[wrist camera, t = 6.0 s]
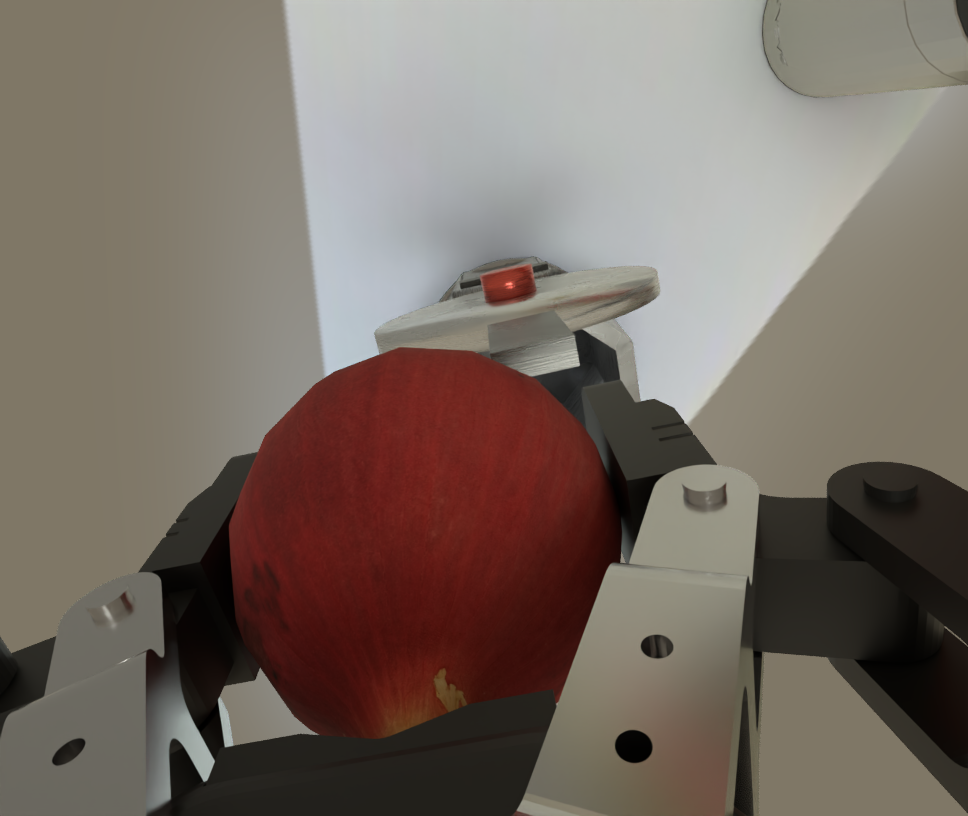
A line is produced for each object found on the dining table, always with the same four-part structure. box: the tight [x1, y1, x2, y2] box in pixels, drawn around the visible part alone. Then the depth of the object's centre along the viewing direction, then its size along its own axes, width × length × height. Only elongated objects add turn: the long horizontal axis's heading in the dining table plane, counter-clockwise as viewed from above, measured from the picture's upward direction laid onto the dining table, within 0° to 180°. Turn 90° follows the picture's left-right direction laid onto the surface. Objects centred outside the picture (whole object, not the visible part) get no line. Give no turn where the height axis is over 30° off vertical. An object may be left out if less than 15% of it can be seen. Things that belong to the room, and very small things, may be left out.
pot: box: [439, 256, 640, 431], centre depth 44 cm, size 14×18×11 cm
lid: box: [374, 264, 660, 377], centre depth 27 cm, size 12×19×2 cm
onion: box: [229, 347, 622, 739], centre depth 10 cm, size 6×6×8 cm
